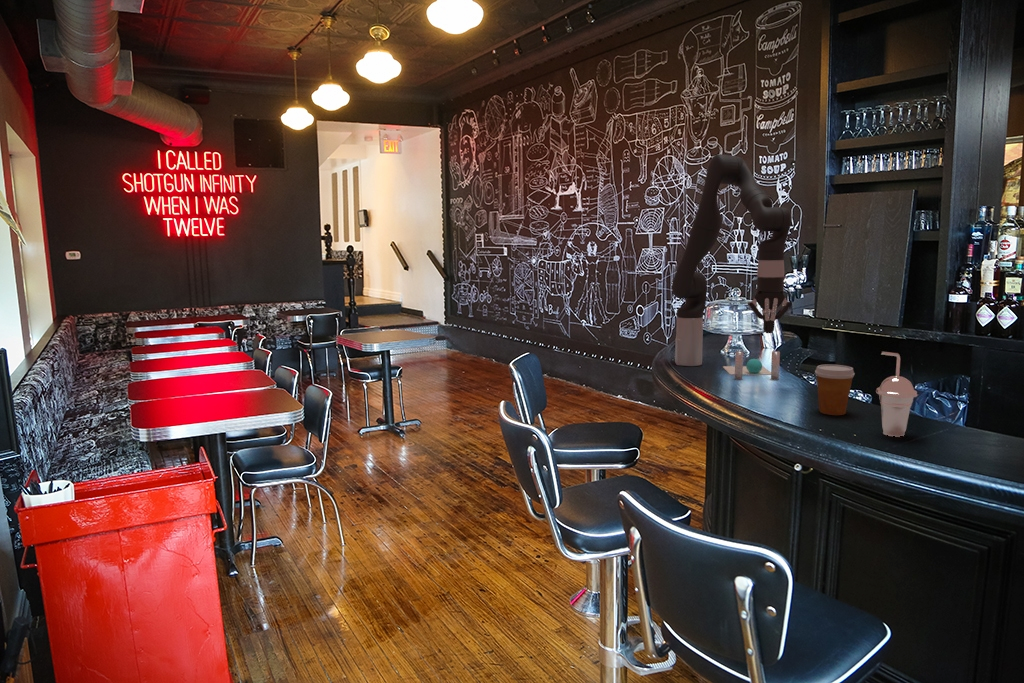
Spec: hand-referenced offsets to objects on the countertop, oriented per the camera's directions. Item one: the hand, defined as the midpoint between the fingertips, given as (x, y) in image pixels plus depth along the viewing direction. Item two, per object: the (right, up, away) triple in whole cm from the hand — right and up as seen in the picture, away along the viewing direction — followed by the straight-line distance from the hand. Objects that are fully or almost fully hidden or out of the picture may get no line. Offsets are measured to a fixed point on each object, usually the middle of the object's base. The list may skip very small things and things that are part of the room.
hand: (768, 332), depth 212 cm
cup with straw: (+12, -25, -47) cm, 55 cm away
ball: (+4, -11, +24) cm, 27 cm away
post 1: (-4, -15, +16) cm, 22 cm away
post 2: (+7, -15, +15) cm, 22 cm away
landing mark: (+3, -13, +29) cm, 32 cm away
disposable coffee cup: (+7, -21, -27) cm, 35 cm away
